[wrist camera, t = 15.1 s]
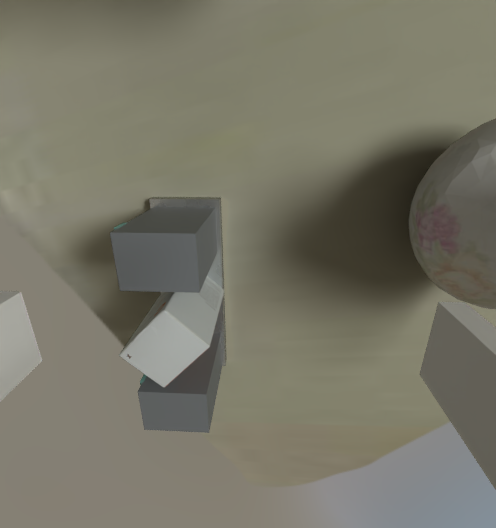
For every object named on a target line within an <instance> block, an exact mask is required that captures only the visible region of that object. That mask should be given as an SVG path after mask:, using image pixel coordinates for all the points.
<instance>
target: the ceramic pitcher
mask: <svg viewBox="0 0 496 528" xmlns="http://www.w3.org/2000/svg"><path fill="white" fill-rule="evenodd" d="M409 236H410V241H411V245H412V249H413V252H414V254H415V257H416V259H417V261H418V262H419V264H420V266H421V267H422V269H423V270H424V272H425V273H426V275H427V276H428V277H429V278H430V279H431V280H432V281H433V282H434V283H435V284H436V285H437V286H438V287H439V288H440V289H442V290H443V291H445V292H447V293H448V294H450V295H452V296H453V297H455V298H457V299H459V300H462V301H465V302H468V303H471V304H474V305H477V306H480V307H483V308H488V309H496V119H493V120H491V121H489V122H486V123H484V124H482V125H480V126H479V127H477V128H475V129H474V130H472V131H470V132H469V133H467V134H466V135H464V136H463V137H462V138H460V139H459V140H457V141H456V142H454V143H453V144H452V145H451V146H450V147H449V148H448V149H447V150H446V151H445V152H444V153H442V154H441V155H440V156H439V157H438V158H437V159H436V160H435V161H434V162H433V163H432V165H431V166H430V168H429V169H428V171H427V172H426V174H425V175H424V177H423V178H422V180H421V182H420V183H419V185H418V187H417V189H416V192H415V195H414V197H413V200H412V203H411V208H410V215H409Z"/></svg>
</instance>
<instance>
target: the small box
mask: <svg viewBox="0 0 496 528" xmlns="http://www.w3.org/2000/svg"><path fill="white" fill-rule="evenodd" d="M223 295H224V289H222V288H221V287H220V286H219V285H218V284H216V283H215V282H214V281H213V280H212V279H210V278H209V277H208V276H207V277H206V279H205V281H204V284H203V286H202V288H201V291H200V293H193V292H163V293H162V294H161V295H160V296H159V297H158V298H157V300H156V301H155V303H154V305H153V306H152V308H151V309H150V311H149V312H148V314H147V315H146V317H145V318H144V319H143V321H142V322H141V324H140V325H139V326H138V328H137V329H136V331H135V332H134V334H133V335H132V337H131V338H130V340H129V341H128V343H127V344H126V345H125V347H124V348H123V350H122V352H121V353H120V354H119V356H120V357H122V358H123V359H124V360H125V361H127V362H128V363H130V364H131V365H132V366H134V367H135V368H137V369H138V370H139V371H141V372H142V373H143V374H145V375H146V376H148V377H149V378H151V379H152V380H153V381H155V382H156V383H158V384H159V385H161V386H162V387H166V386H167V385H168V384H169V383H170V382H172V381H173V380H174V379H175V378H176V377H177V376H178V375H179V374H180V373H182V372H183V371H184V370H185V369H186V368H187V367H188V366H189V365H190V364H192V363H193V362H194V361H195V360H196V359H197V358H198V357H199V356H200V355H202V354H203V353H204V352H205V351H206V350H207V349H208V348H209V347H210V344H211V340H212V337H213V333H214V329H215V325H216V321H217V317H218V313H219V310H220V306H221V302H222V298H223Z"/></svg>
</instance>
